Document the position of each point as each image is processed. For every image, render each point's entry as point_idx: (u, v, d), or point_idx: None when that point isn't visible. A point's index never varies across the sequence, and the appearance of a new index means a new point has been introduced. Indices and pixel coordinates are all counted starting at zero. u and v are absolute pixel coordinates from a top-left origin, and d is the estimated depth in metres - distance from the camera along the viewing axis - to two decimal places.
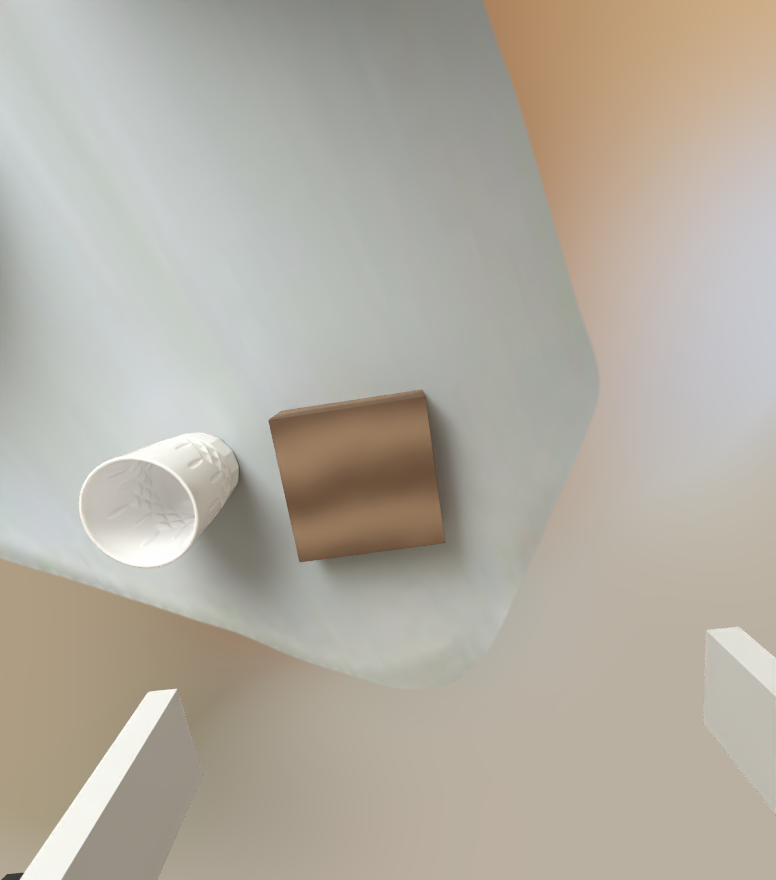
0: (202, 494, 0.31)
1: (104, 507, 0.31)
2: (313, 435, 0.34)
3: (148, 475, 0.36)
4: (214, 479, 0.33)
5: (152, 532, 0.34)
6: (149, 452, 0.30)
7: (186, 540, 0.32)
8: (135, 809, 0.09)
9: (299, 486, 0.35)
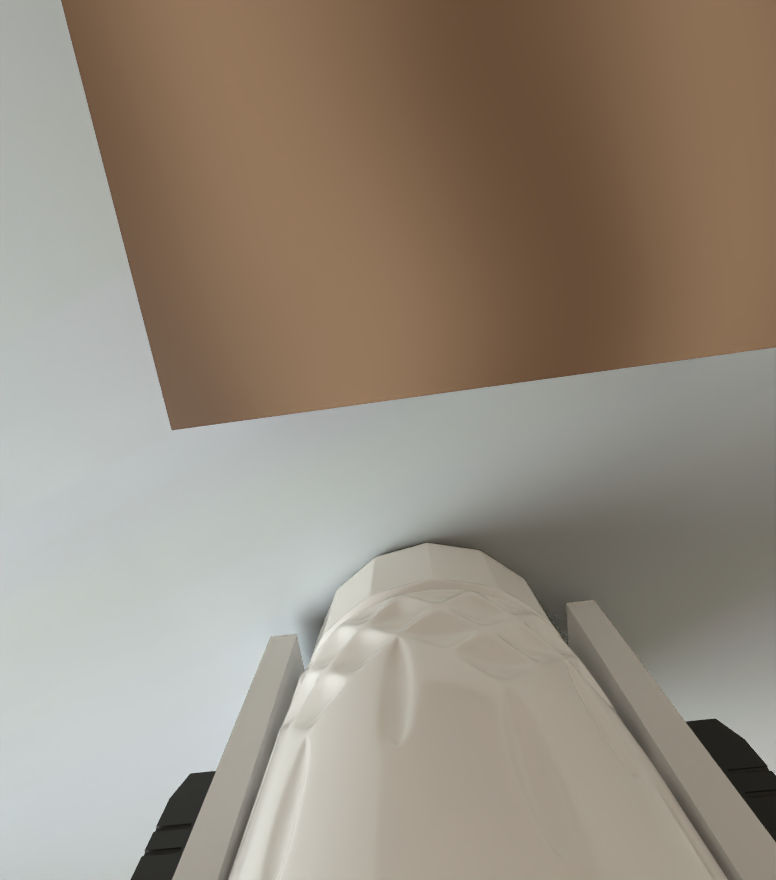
0: None
1: None
2: (226, 220, 0.07)
3: None
4: (404, 702, 0.07)
5: None
6: None
7: None
8: None
9: (483, 307, 0.07)
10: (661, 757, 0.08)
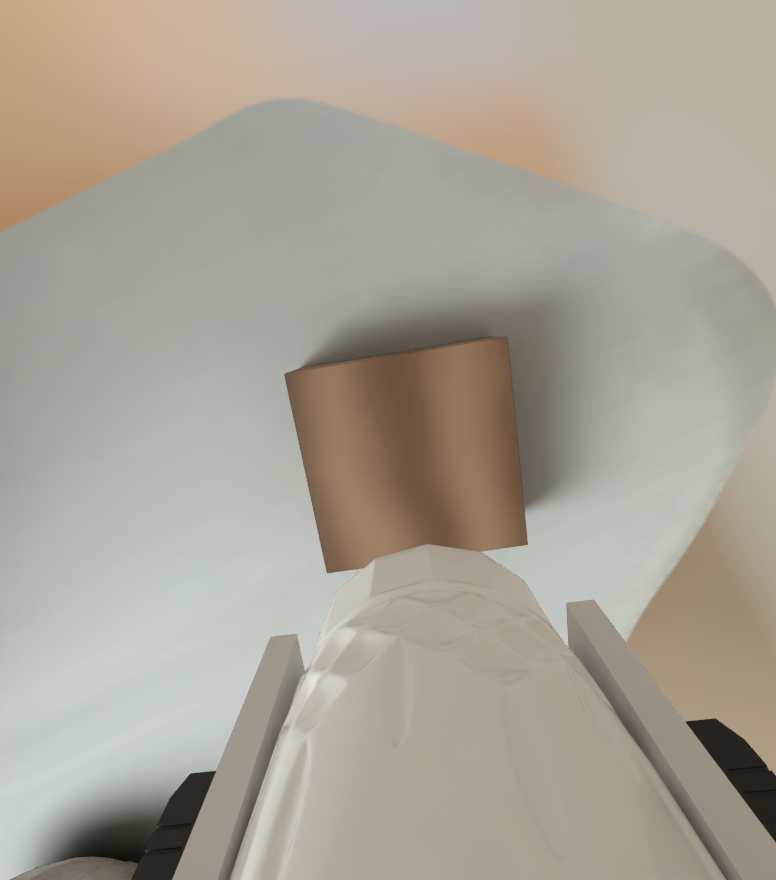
0: None
1: None
2: (345, 520, 0.26)
3: None
4: (405, 704, 0.07)
5: None
6: None
7: None
8: None
9: (415, 540, 0.26)
10: (661, 757, 0.08)
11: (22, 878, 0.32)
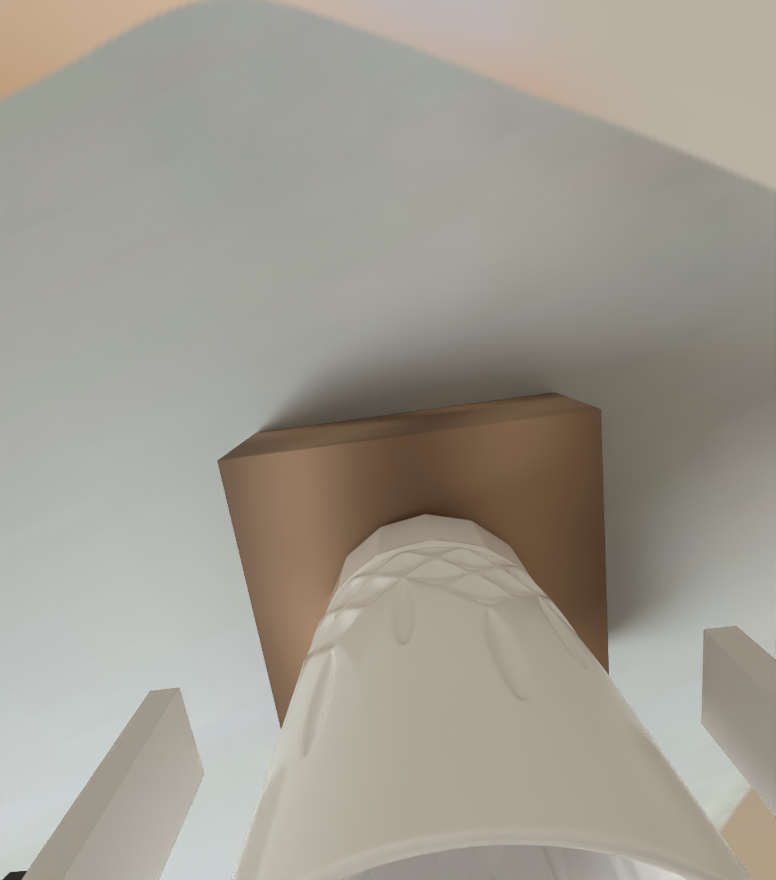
0: (430, 734, 0.06)
1: None
2: None
3: None
4: (409, 620, 0.09)
5: None
6: None
7: None
8: (137, 808, 0.09)
9: None
10: None
11: None
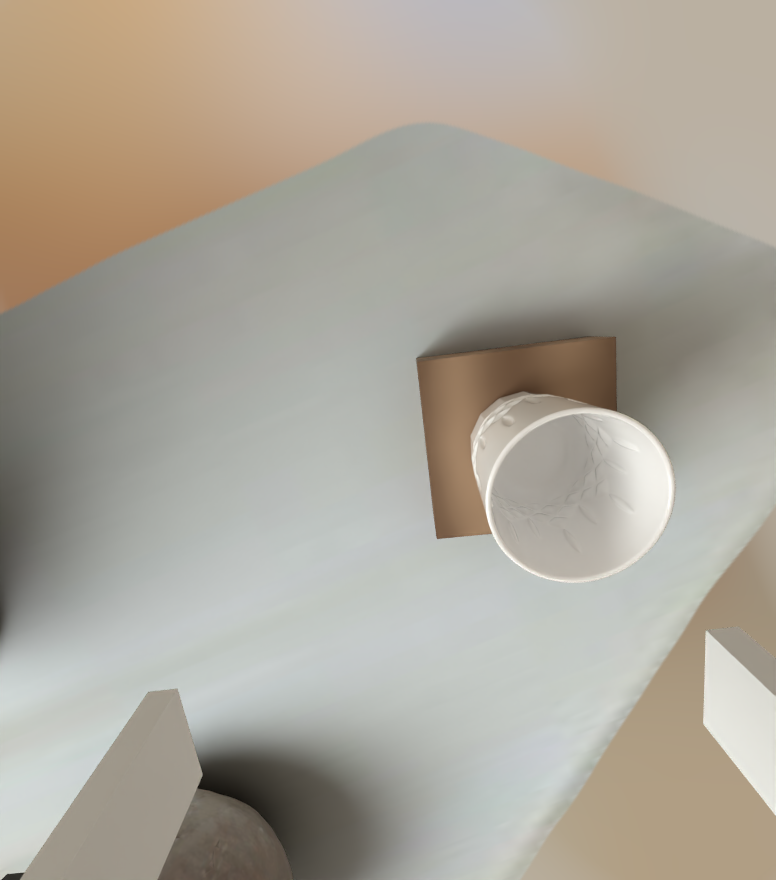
0: (558, 405, 0.19)
1: (563, 553, 0.22)
2: (457, 492, 0.30)
3: (523, 505, 0.27)
4: (536, 402, 0.22)
5: (610, 501, 0.23)
6: (484, 475, 0.20)
7: (632, 445, 0.21)
8: (135, 809, 0.09)
9: None
10: None
11: None
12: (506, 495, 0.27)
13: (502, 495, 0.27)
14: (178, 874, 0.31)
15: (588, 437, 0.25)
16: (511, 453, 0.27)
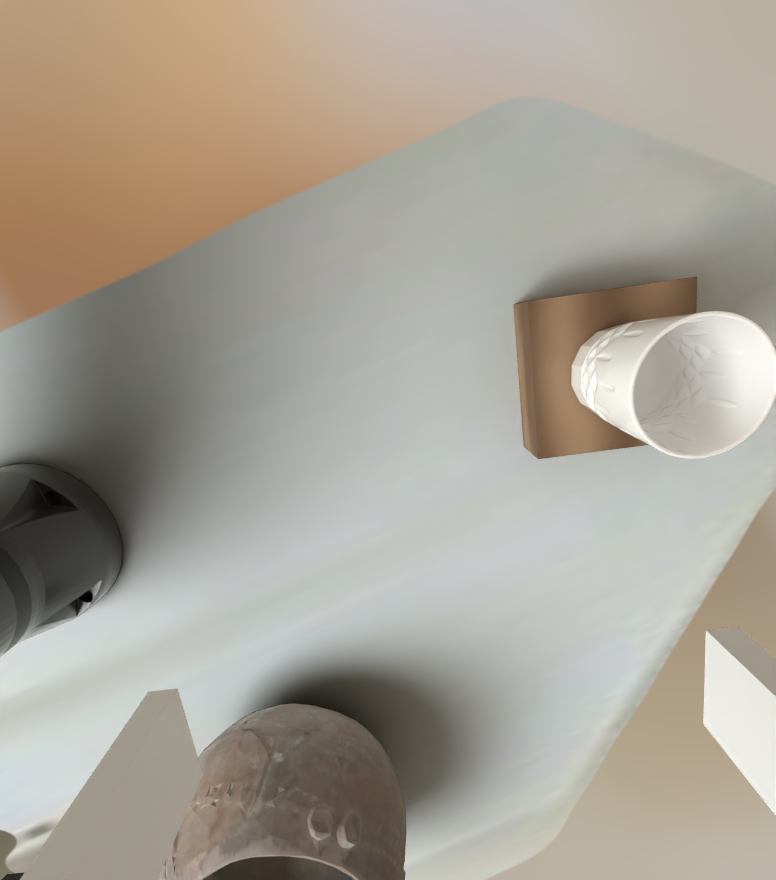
0: None
1: (678, 443, 0.27)
2: (557, 416, 0.34)
3: None
4: (651, 320, 0.27)
5: (710, 403, 0.28)
6: (621, 375, 0.25)
7: (736, 350, 0.25)
8: (135, 809, 0.09)
9: (609, 433, 0.35)
10: None
11: (262, 711, 0.41)
12: None
13: None
14: (316, 761, 0.35)
15: (681, 358, 0.30)
16: None
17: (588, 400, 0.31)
